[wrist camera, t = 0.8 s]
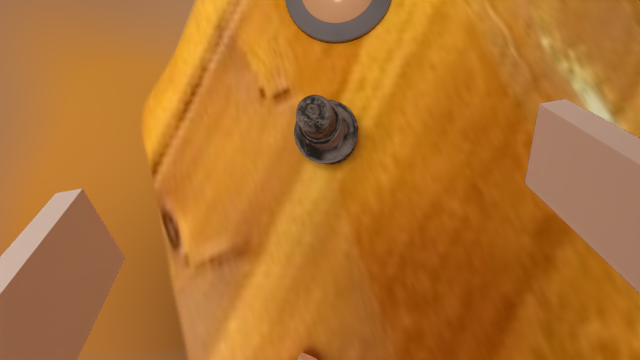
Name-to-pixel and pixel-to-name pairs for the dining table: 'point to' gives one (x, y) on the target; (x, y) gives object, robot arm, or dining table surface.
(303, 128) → the salt shaker
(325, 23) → the coaster
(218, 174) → the dining table surface
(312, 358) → the cable organizer
